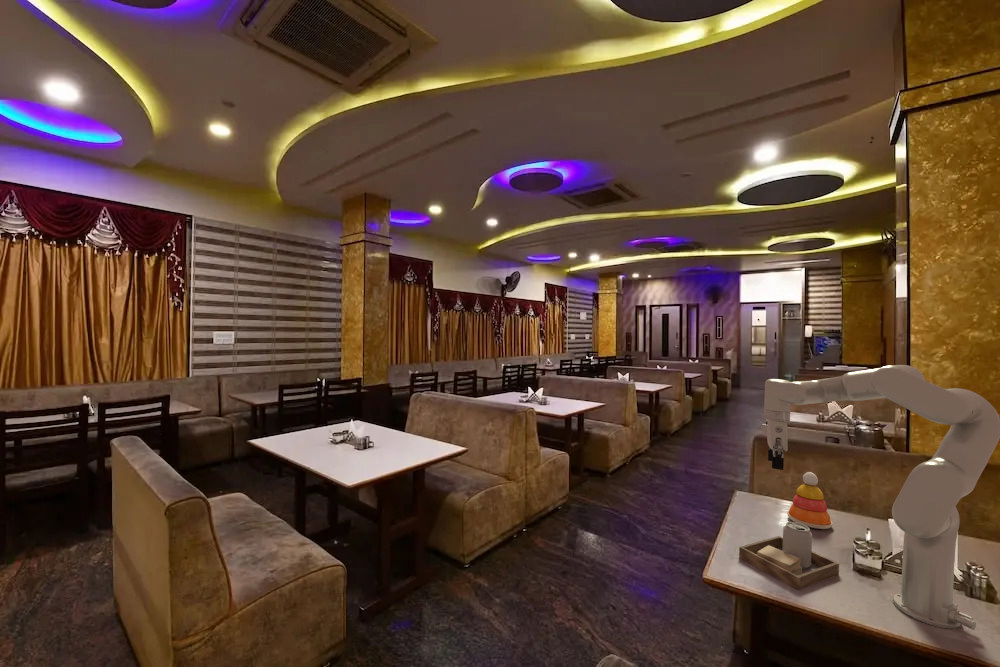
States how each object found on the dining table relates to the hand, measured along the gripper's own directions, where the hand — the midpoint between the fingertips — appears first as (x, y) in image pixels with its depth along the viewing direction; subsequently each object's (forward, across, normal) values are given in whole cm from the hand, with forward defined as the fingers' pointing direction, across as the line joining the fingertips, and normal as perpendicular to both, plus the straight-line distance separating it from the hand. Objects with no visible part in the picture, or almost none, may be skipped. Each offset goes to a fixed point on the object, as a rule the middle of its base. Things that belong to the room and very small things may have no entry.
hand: (775, 465), depth 145 cm
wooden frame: (+28, -14, -2) cm, 31 cm away
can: (+28, -10, -5) cm, 30 cm away
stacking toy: (+28, +28, -15) cm, 42 cm away
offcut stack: (+28, -17, +1) cm, 32 cm away
